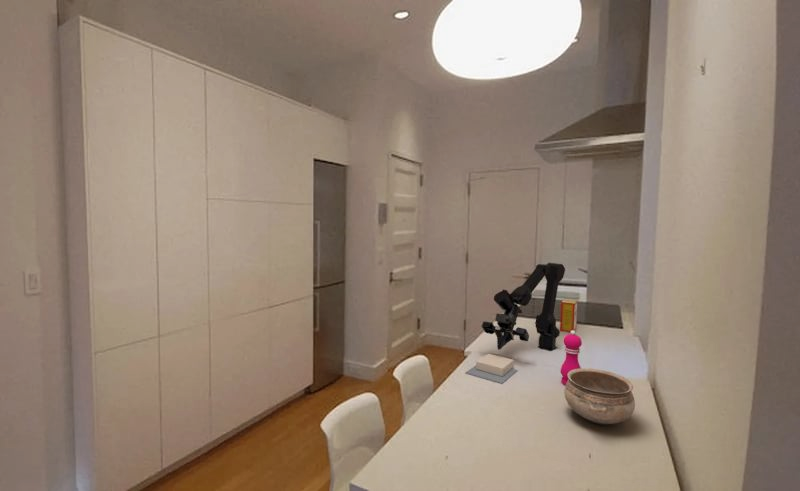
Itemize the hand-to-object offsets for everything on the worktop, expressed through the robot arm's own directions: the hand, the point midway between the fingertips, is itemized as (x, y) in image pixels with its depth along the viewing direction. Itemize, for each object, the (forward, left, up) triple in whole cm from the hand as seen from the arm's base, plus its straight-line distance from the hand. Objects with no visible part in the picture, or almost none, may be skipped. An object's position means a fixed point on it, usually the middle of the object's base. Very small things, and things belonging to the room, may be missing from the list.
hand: (498, 349), depth 155 cm
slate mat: (-1, +6, -8) cm, 10 cm away
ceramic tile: (0, -2, -5) cm, 6 cm away
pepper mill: (-26, -7, -8) cm, 28 cm away
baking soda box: (+4, -72, -8) cm, 72 cm away
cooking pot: (-42, +11, -8) cm, 44 cm away
